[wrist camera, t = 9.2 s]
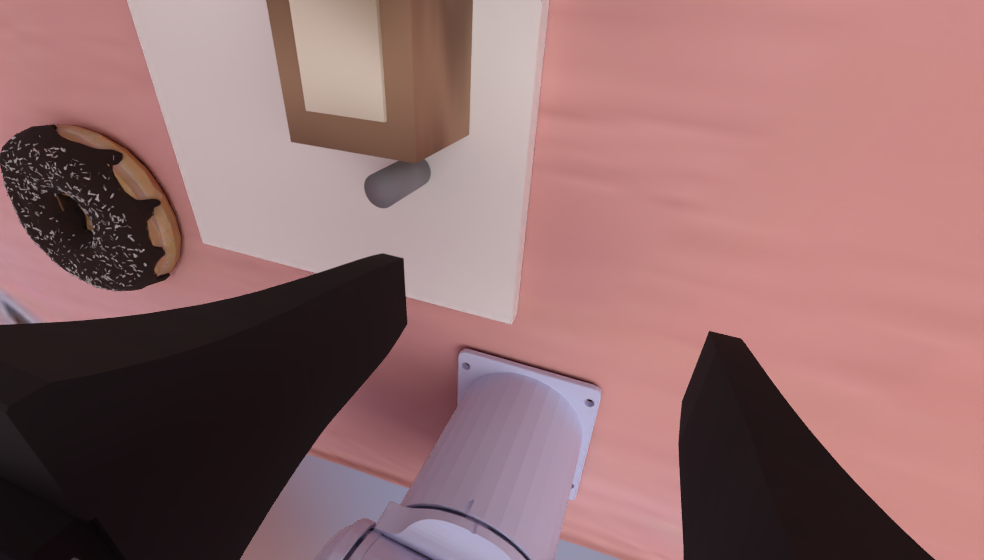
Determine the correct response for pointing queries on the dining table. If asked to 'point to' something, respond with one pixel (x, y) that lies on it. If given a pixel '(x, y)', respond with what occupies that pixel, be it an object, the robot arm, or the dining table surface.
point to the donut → (91, 206)
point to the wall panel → (351, 156)
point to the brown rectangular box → (375, 73)
